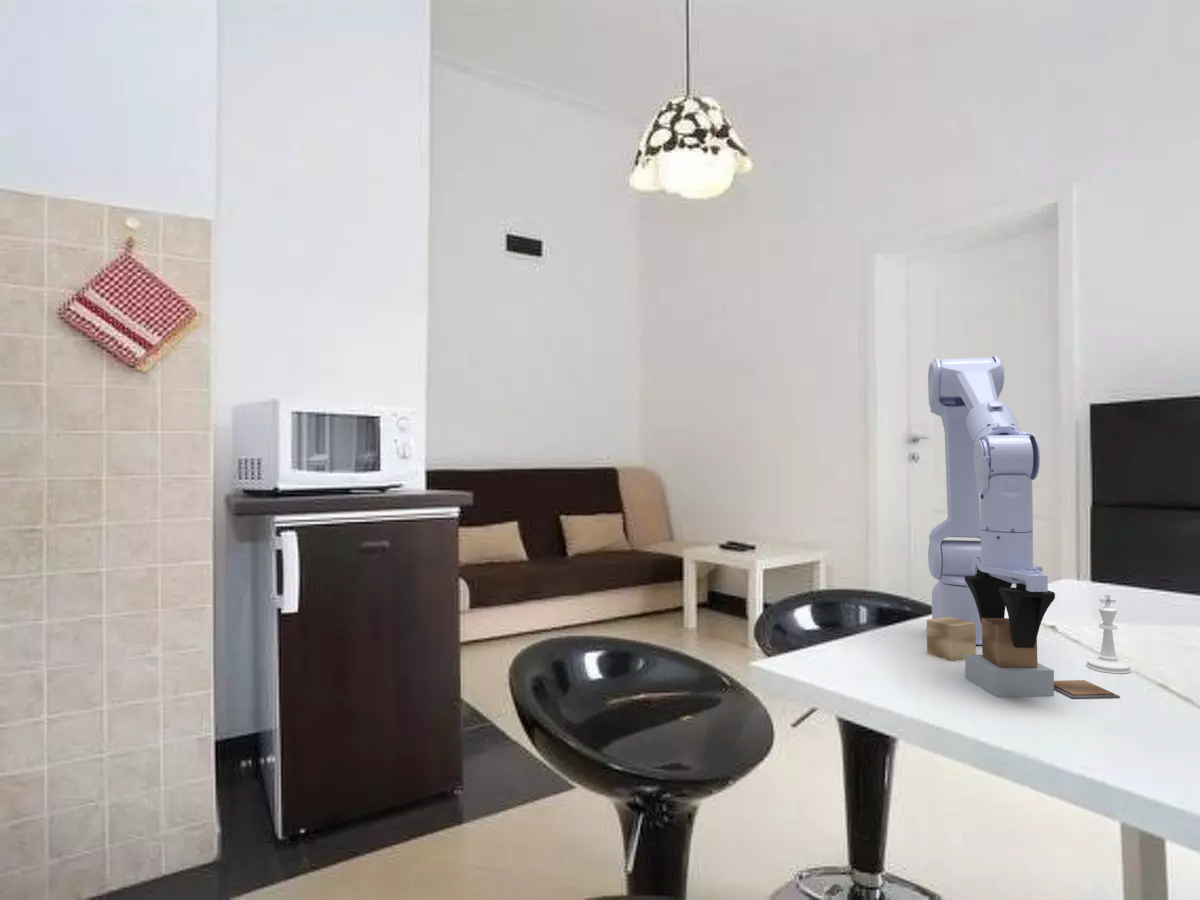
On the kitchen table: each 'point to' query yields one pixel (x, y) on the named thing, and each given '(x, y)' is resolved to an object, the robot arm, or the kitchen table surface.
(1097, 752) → the kitchen table surface
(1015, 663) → the walnut block
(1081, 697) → the walnut swatch
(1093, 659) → the chess piece
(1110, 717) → the kitchen table surface
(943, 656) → the oak block
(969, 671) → the base block
